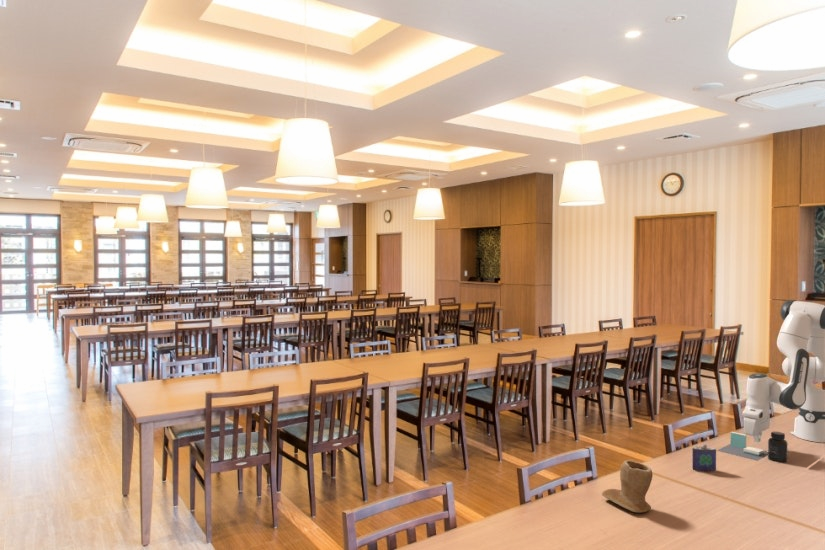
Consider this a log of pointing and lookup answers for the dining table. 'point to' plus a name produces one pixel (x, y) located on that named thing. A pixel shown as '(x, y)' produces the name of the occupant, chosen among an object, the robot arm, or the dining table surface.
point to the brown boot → (632, 487)
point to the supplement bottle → (777, 447)
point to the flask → (704, 458)
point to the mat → (741, 452)
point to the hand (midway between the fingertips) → (757, 441)
